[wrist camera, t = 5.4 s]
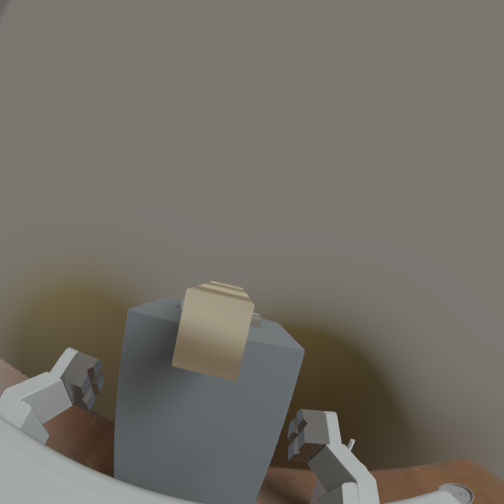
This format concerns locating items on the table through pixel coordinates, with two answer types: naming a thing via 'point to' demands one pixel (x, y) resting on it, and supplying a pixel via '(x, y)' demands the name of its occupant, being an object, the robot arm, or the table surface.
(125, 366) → the stand
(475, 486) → the table surface
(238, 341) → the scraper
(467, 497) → the energy drink
